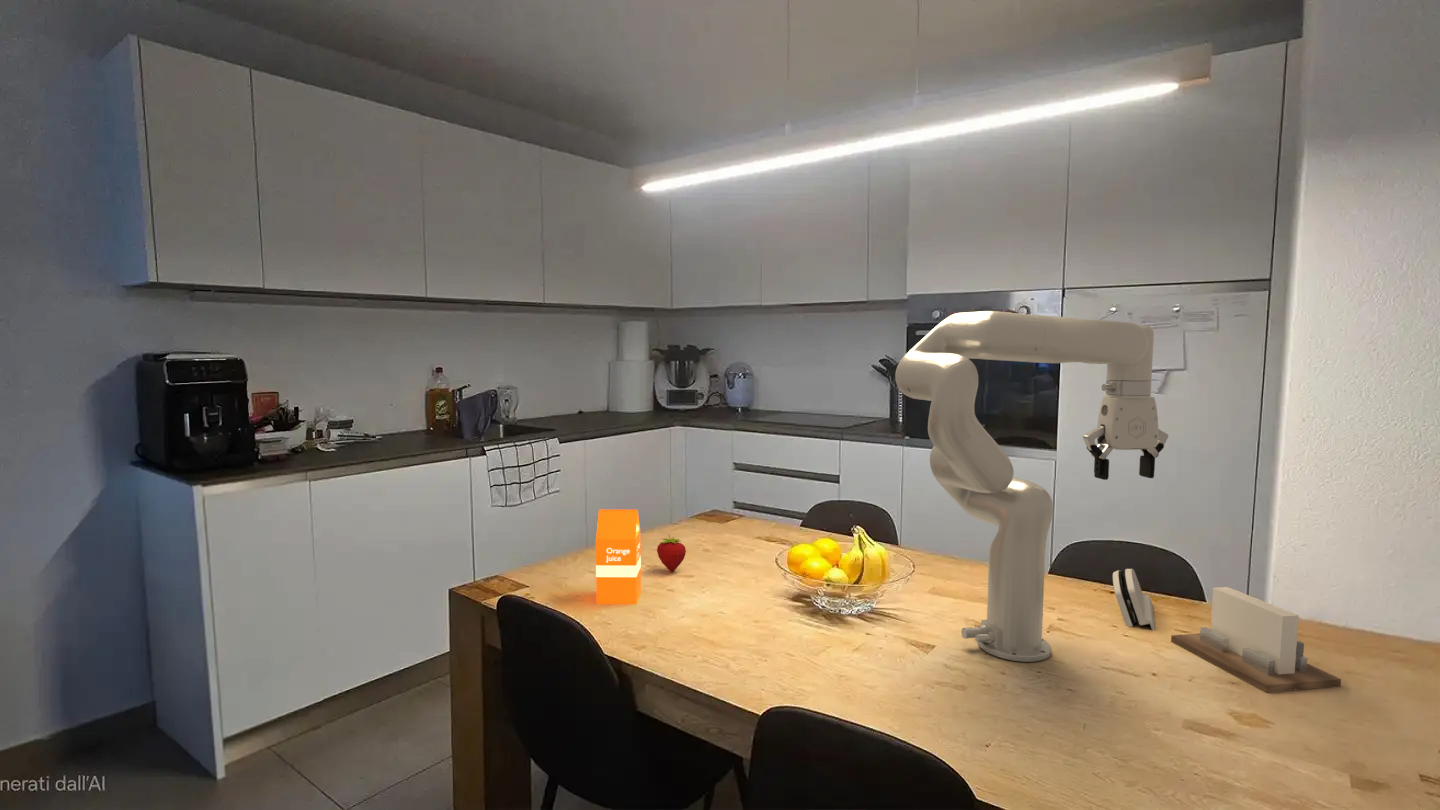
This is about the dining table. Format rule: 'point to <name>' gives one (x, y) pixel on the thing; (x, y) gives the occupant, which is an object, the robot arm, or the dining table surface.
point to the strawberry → (671, 553)
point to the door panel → (1256, 627)
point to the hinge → (1132, 599)
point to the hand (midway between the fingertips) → (1123, 477)
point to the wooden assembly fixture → (1254, 663)
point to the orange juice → (618, 557)
